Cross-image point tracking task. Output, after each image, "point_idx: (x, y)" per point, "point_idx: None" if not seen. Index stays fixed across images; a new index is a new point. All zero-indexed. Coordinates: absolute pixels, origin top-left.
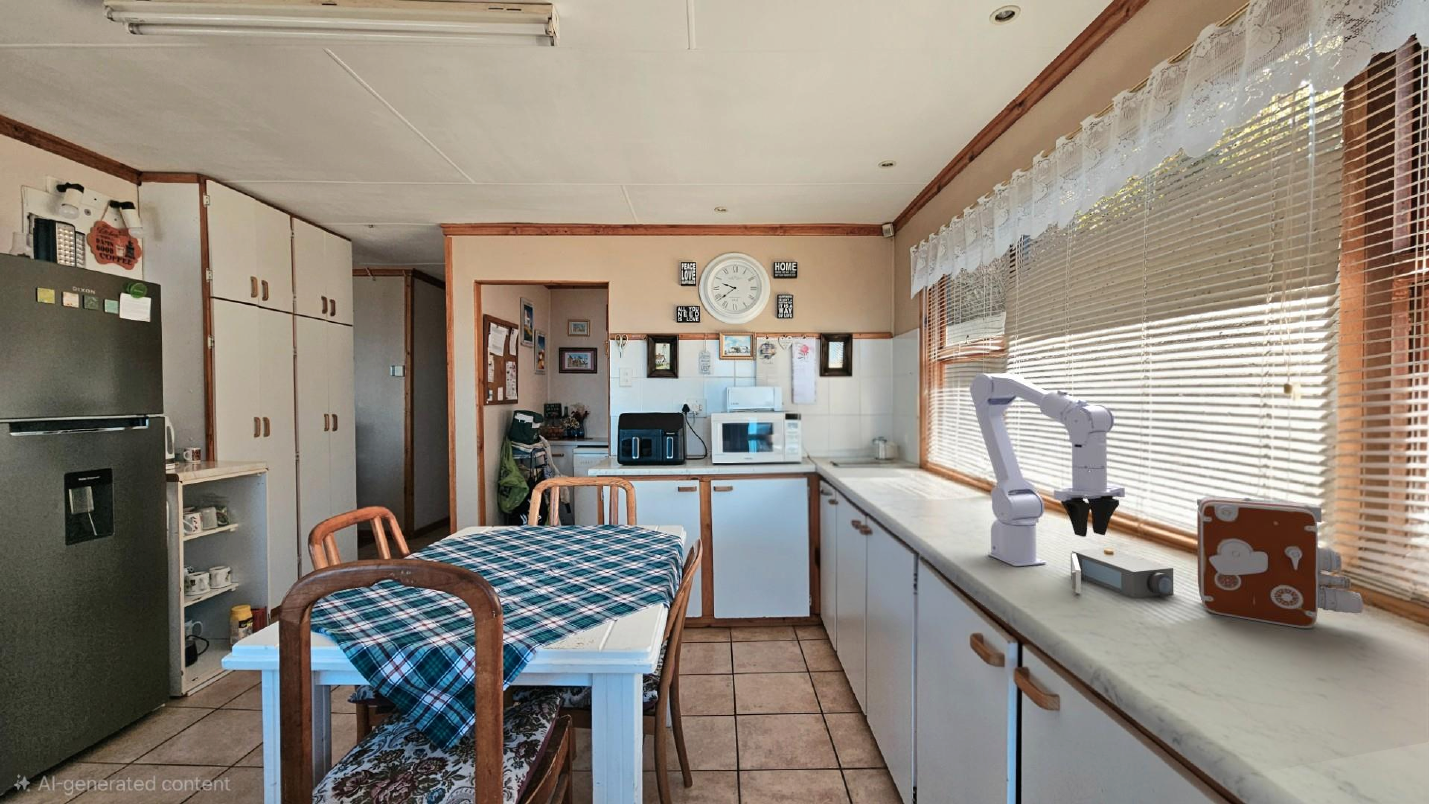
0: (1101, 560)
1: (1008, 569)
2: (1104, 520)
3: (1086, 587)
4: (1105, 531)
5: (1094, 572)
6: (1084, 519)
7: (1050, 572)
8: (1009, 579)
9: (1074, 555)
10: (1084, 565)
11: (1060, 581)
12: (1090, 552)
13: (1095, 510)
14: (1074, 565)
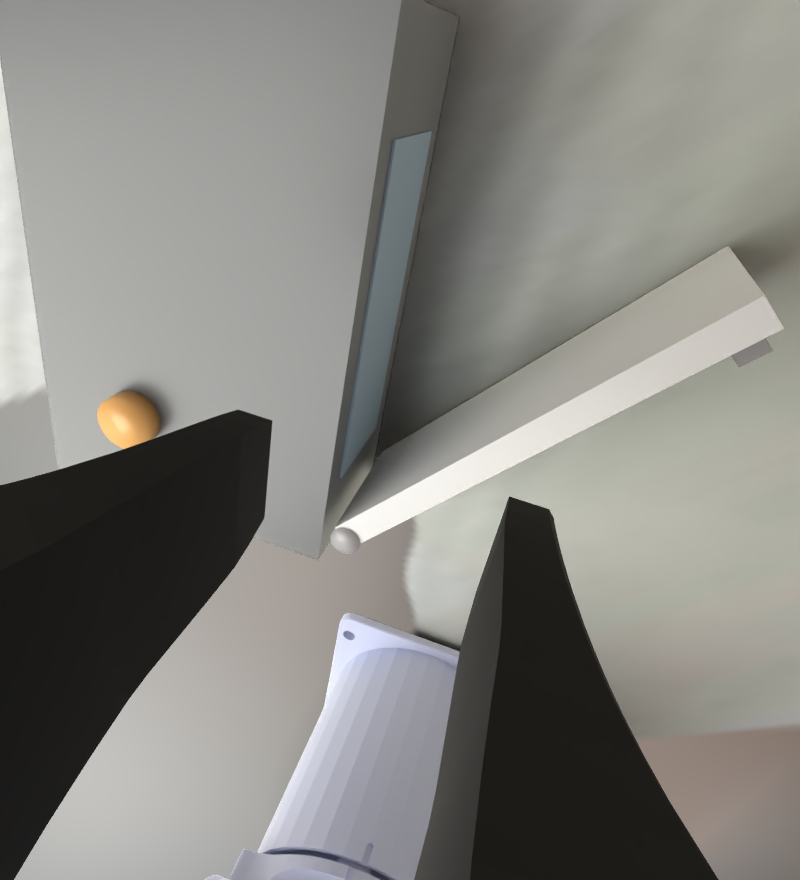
0: (339, 347)
1: None
2: (143, 508)
3: (518, 317)
4: (220, 420)
5: (380, 358)
6: (575, 687)
7: (443, 548)
8: (777, 620)
9: (380, 516)
10: (358, 440)
11: (546, 453)
12: None
13: (56, 733)
14: (622, 407)
